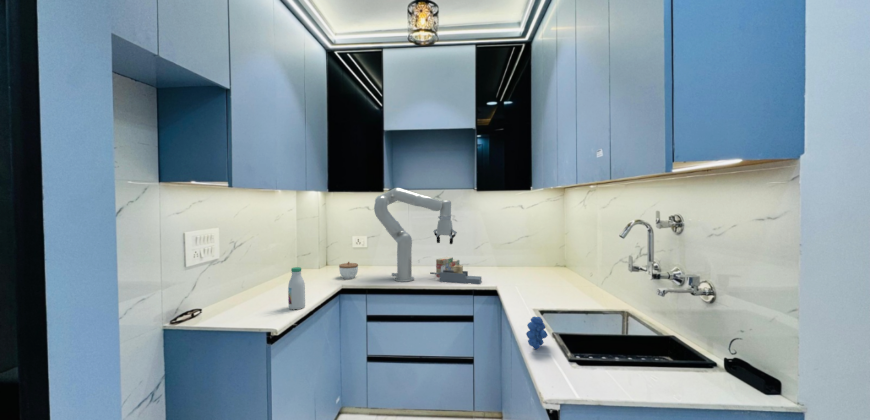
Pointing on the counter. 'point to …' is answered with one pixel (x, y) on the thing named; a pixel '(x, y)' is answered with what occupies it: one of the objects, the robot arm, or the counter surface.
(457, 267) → the pine block
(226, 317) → the counter surface
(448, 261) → the printed cardboard box
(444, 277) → the tube
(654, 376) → the counter surface
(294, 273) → the milk bottle
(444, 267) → the plunger
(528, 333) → the grapes
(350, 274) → the lidded bowl
